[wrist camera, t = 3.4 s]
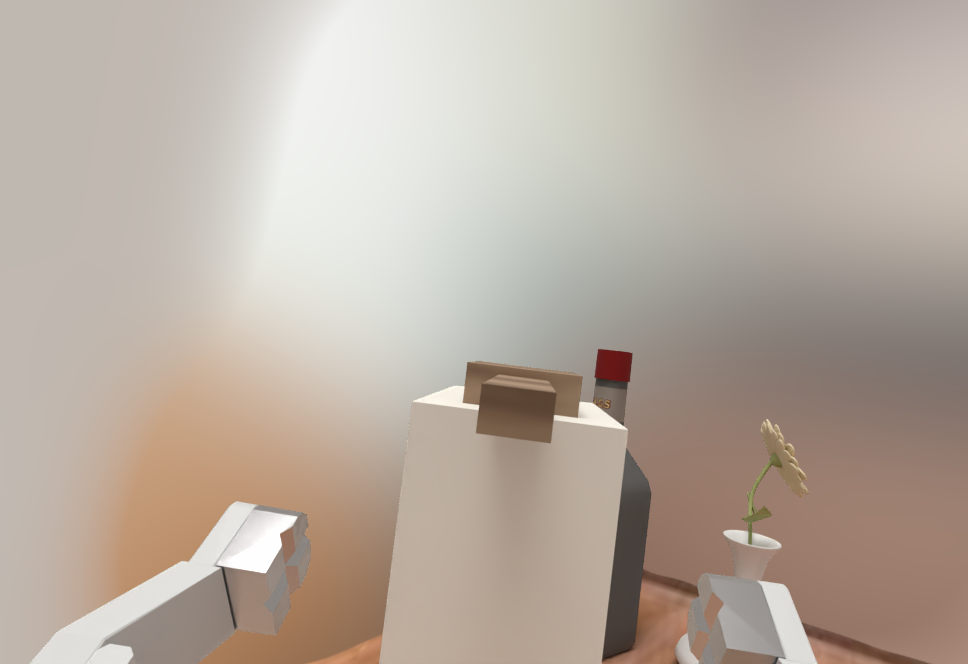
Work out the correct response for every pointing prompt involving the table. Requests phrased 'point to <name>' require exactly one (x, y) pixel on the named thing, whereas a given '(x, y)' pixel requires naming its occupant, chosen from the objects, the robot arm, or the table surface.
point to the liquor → (623, 511)
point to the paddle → (520, 399)
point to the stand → (503, 539)
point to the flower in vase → (747, 546)
